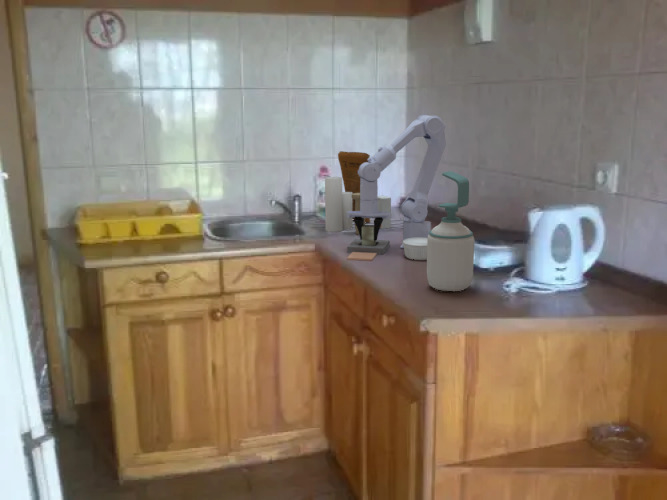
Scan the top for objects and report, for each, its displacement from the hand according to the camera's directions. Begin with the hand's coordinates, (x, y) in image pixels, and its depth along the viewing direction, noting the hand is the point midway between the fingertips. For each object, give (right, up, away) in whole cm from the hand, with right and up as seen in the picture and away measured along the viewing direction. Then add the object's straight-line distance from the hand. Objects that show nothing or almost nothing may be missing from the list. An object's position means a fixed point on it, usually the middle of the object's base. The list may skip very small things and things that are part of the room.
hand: (368, 239), depth 230 cm
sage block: (0, -3, +1) cm, 3 cm away
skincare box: (+7, +5, +37) cm, 38 cm away
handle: (-2, +2, +25) cm, 25 cm away
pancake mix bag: (-2, +8, +51) cm, 52 cm away
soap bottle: (+19, -14, -44) cm, 50 cm away
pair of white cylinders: (-10, +4, +34) cm, 36 cm away
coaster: (-3, -6, -10) cm, 12 cm away
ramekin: (+16, -6, -10) cm, 19 cm away
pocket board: (0, -3, +1) cm, 3 cm away
